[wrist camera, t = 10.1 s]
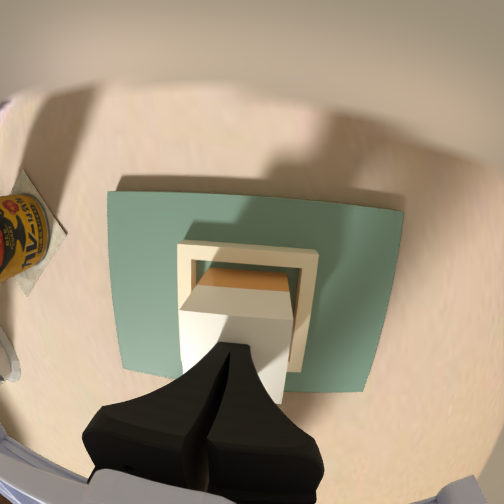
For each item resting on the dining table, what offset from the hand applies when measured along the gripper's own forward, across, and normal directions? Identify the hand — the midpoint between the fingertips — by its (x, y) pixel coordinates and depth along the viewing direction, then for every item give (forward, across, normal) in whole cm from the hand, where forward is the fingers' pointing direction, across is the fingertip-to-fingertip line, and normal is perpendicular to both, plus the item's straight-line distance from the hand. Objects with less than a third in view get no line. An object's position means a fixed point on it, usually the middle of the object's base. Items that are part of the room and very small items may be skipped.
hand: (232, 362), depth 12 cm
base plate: (+7, 0, 0) cm, 7 cm away
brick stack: (+6, 0, 0) cm, 6 cm away
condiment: (+7, +19, -3) cm, 21 cm away
